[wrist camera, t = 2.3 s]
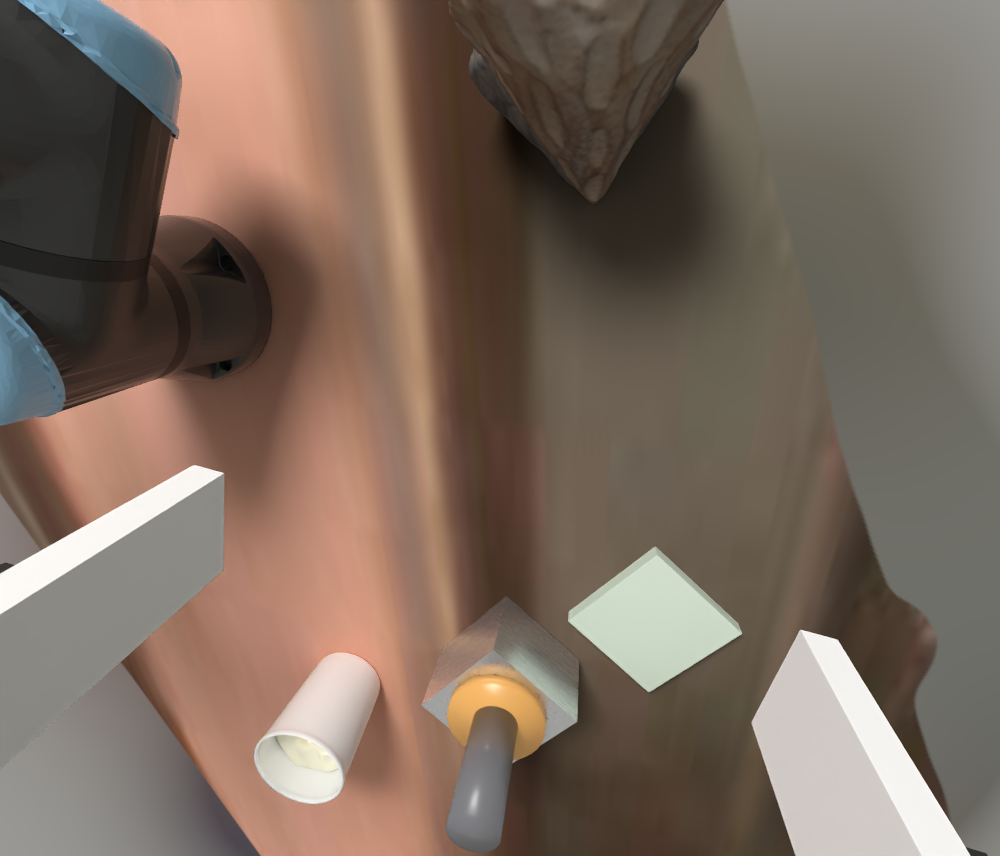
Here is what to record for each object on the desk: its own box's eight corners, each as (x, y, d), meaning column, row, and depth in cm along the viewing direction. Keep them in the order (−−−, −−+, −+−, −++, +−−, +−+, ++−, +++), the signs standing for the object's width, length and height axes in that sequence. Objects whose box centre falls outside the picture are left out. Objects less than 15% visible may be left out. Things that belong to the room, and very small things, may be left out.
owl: (477, 93, 41) (381, -31, 22) (597, -65, 36) (603, -384, 18) (589, 212, 42) (587, 189, 24) (718, 75, 38) (839, -86, 19)
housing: (442, 647, 60) (421, 705, 53) (506, 595, 56) (493, 649, 49) (512, 706, 61) (501, 770, 54) (579, 659, 57) (577, 721, 50)
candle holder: (344, 632, 62) (289, 718, 51) (403, 686, 63) (362, 782, 52) (296, 670, 65) (235, 758, 54) (353, 720, 67) (305, 816, 55)
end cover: (445, 663, 58) (391, 821, 42) (503, 617, 54) (467, 770, 39) (508, 716, 59) (478, 889, 43) (569, 674, 55) (560, 845, 40)
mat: (568, 611, 56) (568, 620, 54) (655, 546, 51) (657, 554, 50) (647, 681, 57) (648, 692, 55) (738, 623, 53) (742, 633, 51)
